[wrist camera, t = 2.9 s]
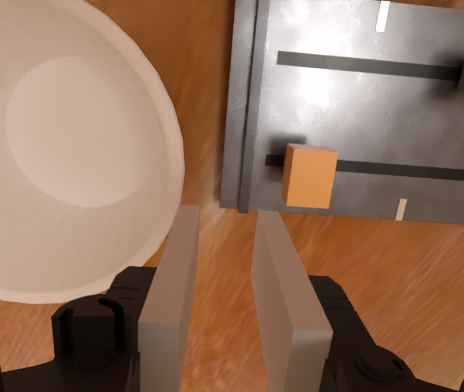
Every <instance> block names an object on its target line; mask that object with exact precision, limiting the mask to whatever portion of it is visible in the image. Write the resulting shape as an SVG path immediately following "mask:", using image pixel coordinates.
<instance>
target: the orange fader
mask: <svg viewBox="0 0 464 392" xmlns="http://www.w3.org/2000/svg"><path fill="white" fill-rule="evenodd" d="M337 158H338V152H337V151H335V150H333V149H331V148H330V147H328V146H315V145H303V144H290V143H288V144H287V148H285V156H284V164H283V171H282V177H283V181H282V189H281V197H282V199H283V201H284V202H285V204H286V206H297V207H311V208H325V209H328V208H329V203H330V197H331V192H332V186H333V180H334V175H335V169H336V164H337Z"/></svg>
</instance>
